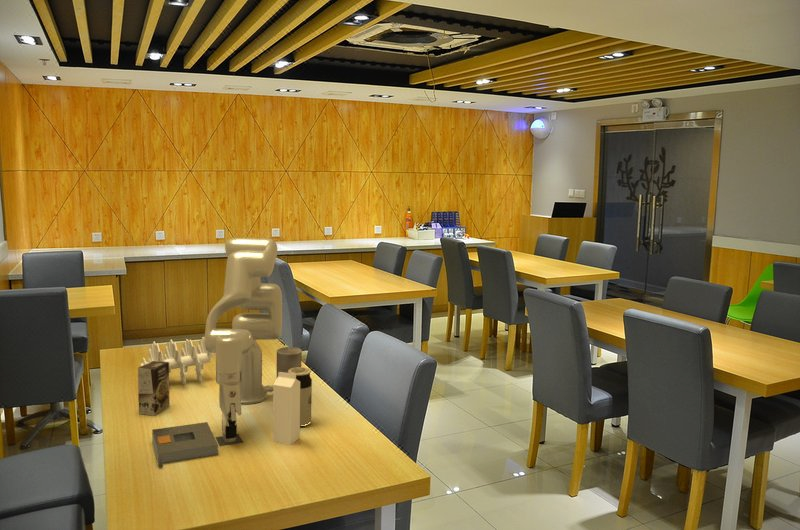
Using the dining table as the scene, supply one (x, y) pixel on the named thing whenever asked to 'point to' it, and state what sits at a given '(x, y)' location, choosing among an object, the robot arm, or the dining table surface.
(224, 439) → the peg
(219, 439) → the pad
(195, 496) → the dining table surface
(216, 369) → the robot arm
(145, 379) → the coffee box
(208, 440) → the block
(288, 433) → the milk
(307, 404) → the travel mug
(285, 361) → the pillar candle
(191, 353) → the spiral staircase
